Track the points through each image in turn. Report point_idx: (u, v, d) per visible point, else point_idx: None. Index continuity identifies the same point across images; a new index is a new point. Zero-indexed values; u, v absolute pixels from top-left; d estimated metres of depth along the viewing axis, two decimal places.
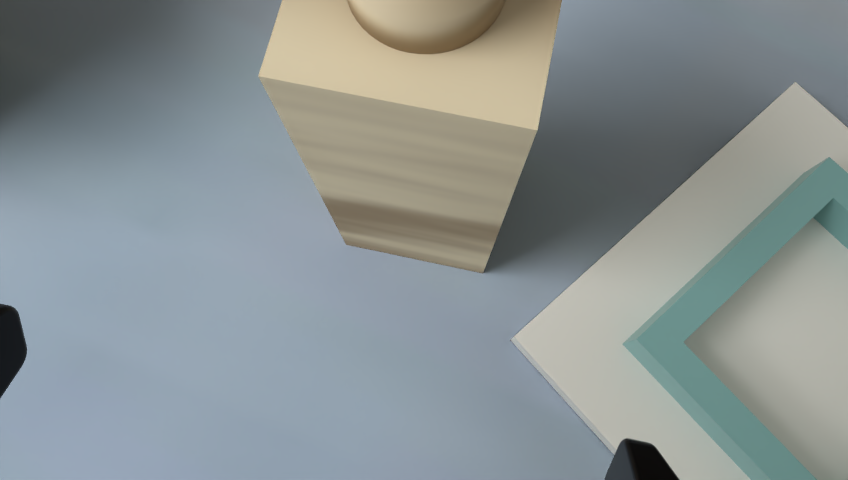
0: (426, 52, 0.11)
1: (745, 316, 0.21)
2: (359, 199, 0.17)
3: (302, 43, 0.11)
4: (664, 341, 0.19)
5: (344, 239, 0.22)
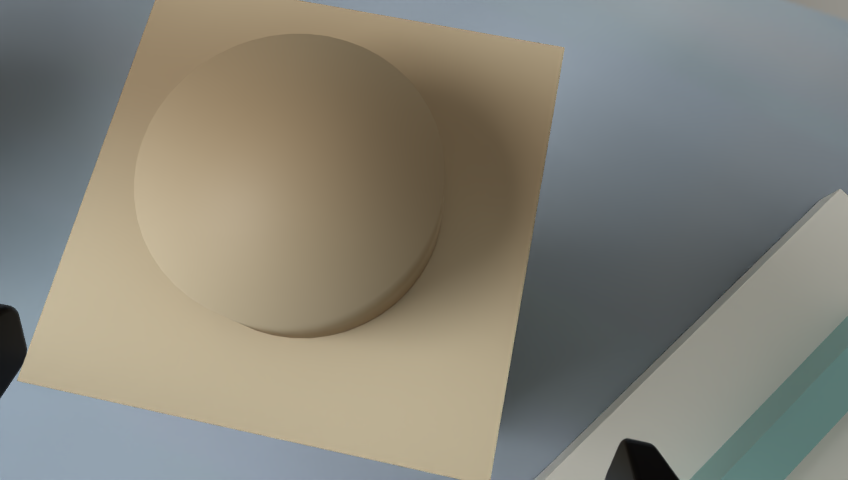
0: (303, 335, 0.07)
1: None
2: None
3: (96, 318, 0.07)
4: None
5: None
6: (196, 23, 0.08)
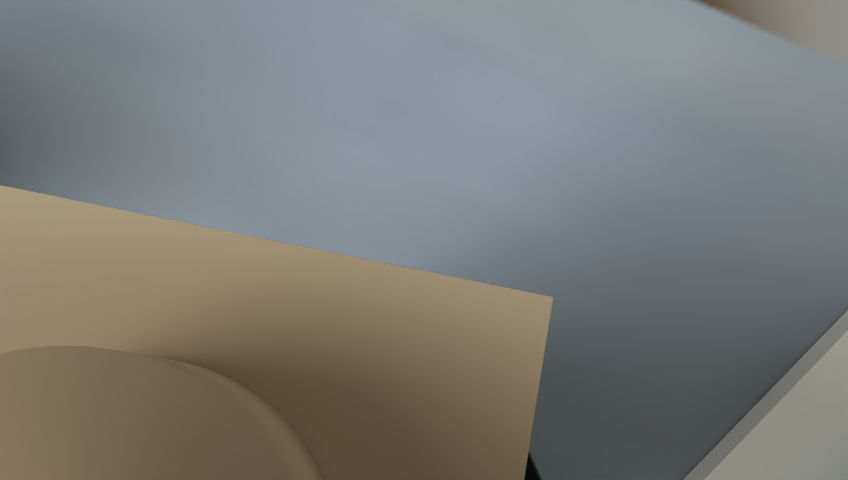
0: None
1: None
2: None
3: None
4: None
5: None
6: None
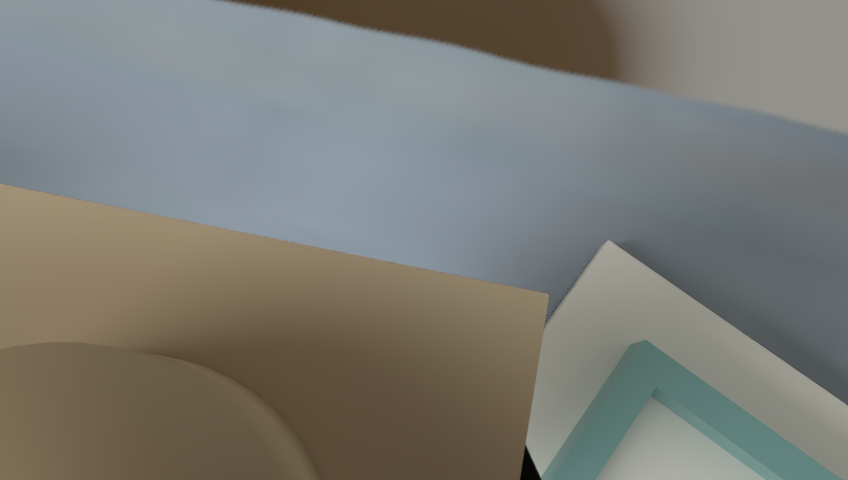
0: None
1: None
2: None
3: None
4: None
5: None
6: None
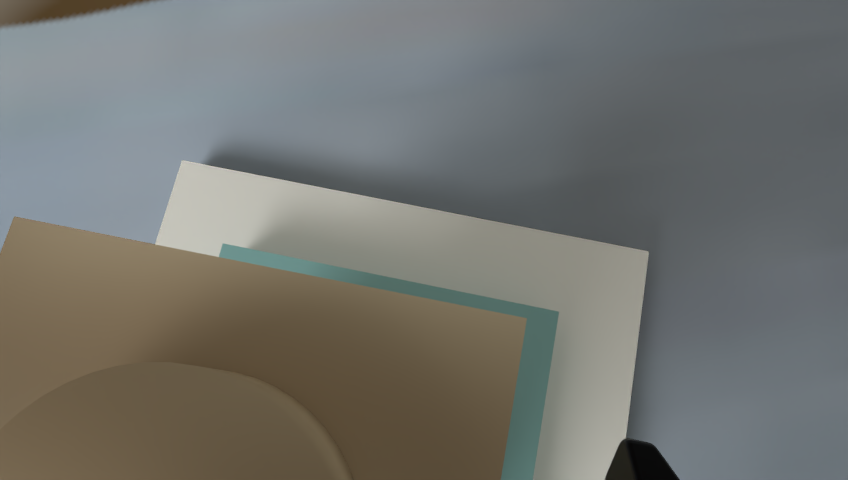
0: None
1: None
2: None
3: None
4: None
5: None
6: (52, 283, 0.06)
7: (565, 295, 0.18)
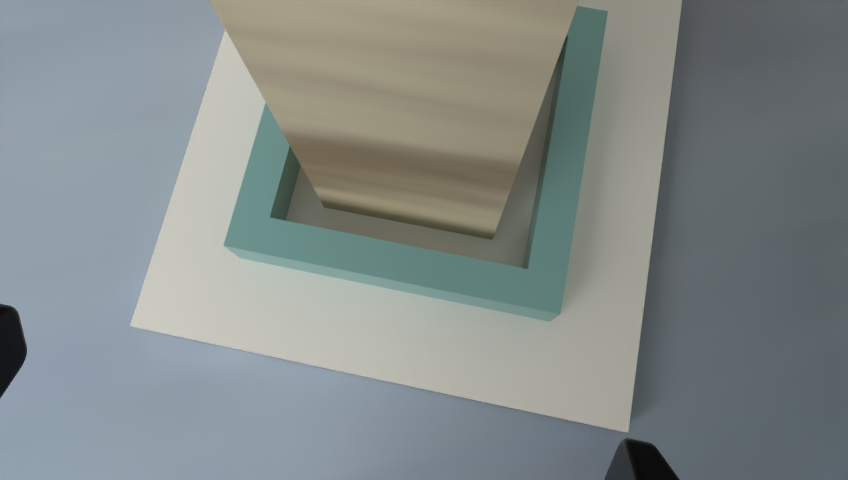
0: None
1: None
2: (331, 132, 0.13)
3: None
4: (251, 229, 0.17)
5: (321, 199, 0.18)
6: None
7: (610, 20, 0.20)
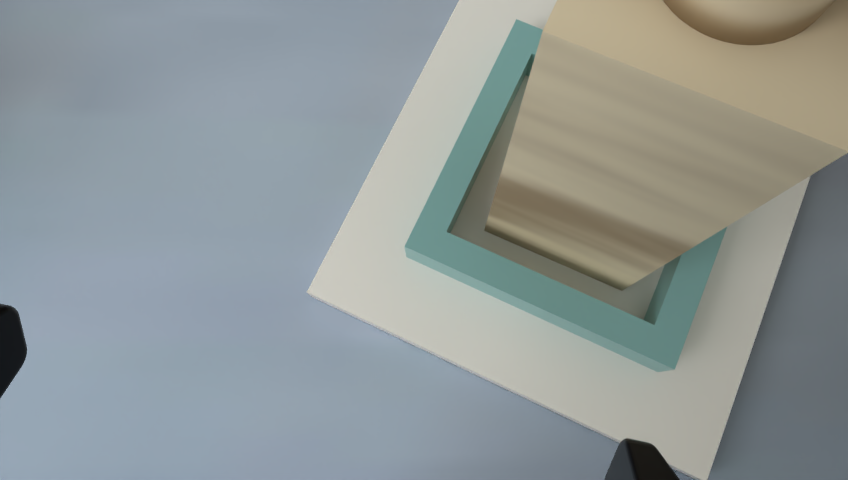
0: (732, 42, 0.10)
1: None
2: (543, 186, 0.16)
3: (595, 5, 0.10)
4: (429, 237, 0.20)
5: (486, 225, 0.21)
6: None
7: None
